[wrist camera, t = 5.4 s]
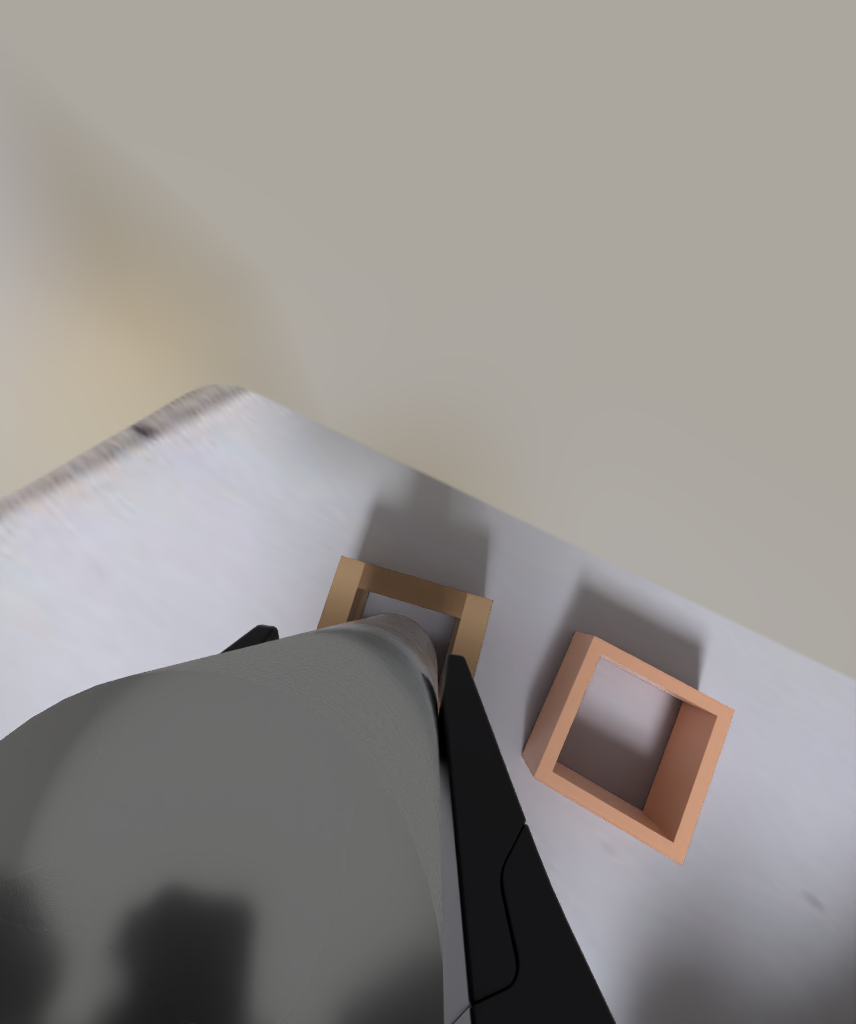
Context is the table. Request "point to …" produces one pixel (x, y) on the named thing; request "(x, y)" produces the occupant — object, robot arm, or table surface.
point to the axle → (231, 840)
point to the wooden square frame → (363, 577)
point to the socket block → (679, 770)
